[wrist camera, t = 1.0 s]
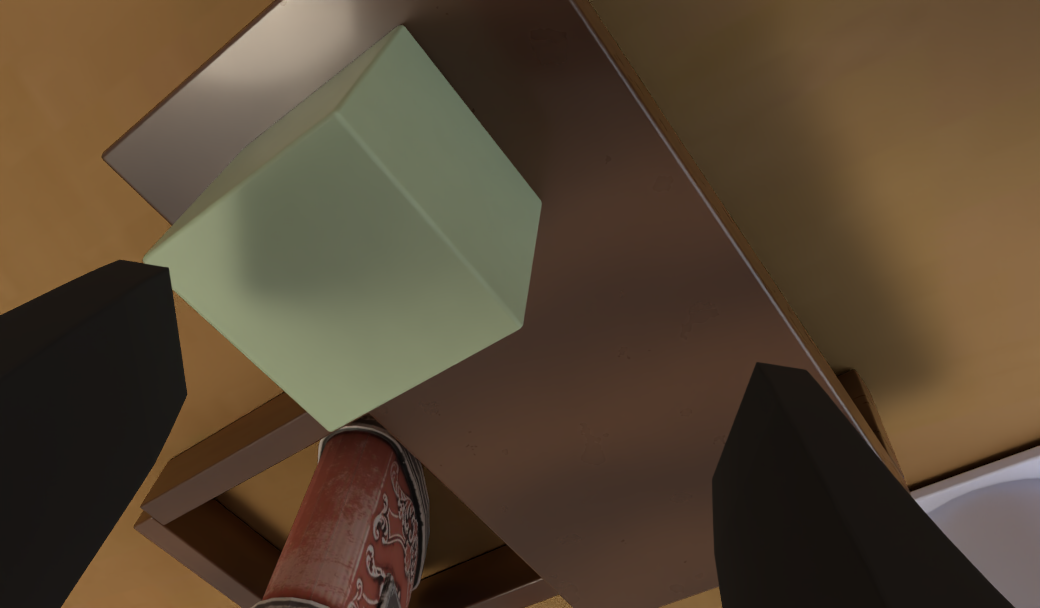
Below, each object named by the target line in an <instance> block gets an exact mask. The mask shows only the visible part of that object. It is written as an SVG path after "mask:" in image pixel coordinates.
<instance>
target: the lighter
mask: <svg viewBox="0 0 1040 608" xmlns="http://www.w3.org/2000/svg"><path fill="white" fill-rule="evenodd" d="M429 534H430V525H429V497H428V493H427V488H426V483H425V478H424V474H423V469H422V465H421V462H420V461H419V460H418V459H417V458H415V457H414V456H413V455H412V454H411V453H410V452H409V451H408V450H407V449H406V448H405V447H404V446H403V445H402V444H401V443H400V442H399V441H398V440H397V439H396V438H394V437H393V436H392V435H391V434H390V433H389V432H388V431H387V430H386V429H385V428H384V427H383V426H382V425H381V424H380V423H379V422H378V421H377V420H376V419H375V418H373V417H372V416H371V415H370V414H369V413H368V414H367V415H365V416H363V417H361V418H359V419H357V420H356V421H354V422H352V423H350V424H348V425H346V426H345V427H343V428H341V429H339V430H337V431H335V432H334V433H332V434H330V435H328V436H326V437H325V438H323V439H321V441H320V443H319V448H318V465H317V467H316V470H315V472H314V475H313V477H312V480H311V482H310V485H309V487H308V489H307V492H306V494H305V497H304V499H303V502H302V504H301V506H300V509H299V511H298V514H297V516H296V519H295V521H294V523H293V526H292V528H291V531H290V533H289V536H288V538H287V540H286V543H285V545H284V548H283V550H282V553H281V555H280V557H279V560H278V562H277V565H276V567H275V570H274V572H273V575H272V577H271V579H270V582H269V584H268V587H267V589H266V592H265V594H264V596H263V599H262V601H260V602H258V603H257V604H255V605H254V606H252V607H251V608H408V605H409V601H410V597H411V592H412V591H413V590H414V589H416V588H417V586H418V585H419V583H420V579H421V575H422V571H423V566H424V562H425V557H426V551H427V545H428V539H429Z"/></svg>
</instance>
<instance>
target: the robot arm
mask: <svg viewBox="0 0 1040 608" xmlns="http://www.w3.org/2000/svg"><path fill="white" fill-rule="evenodd" d="M186 396H187V389H186V382H185V375H184V368H183V361H182V354H181V347H180V340H179V334H178V327H177V320H176V313H175V306H174V299H173V292H172V285H171V278H170V271H169V267H162V266H156V265H150V264H144V263H137V262H131V261H125V260H118V261H115V262H113V263H110V264H108V265H105V266H103V267H101V268H98V269H96V270H94V271H91V272H89V273H87V274H85V275H83V276H81V277H78V278H76V279H74V280H72V281H70V282H68V283H66V284H64V285H62V286H60V287H58V288H56V289H53V290H51V291H49V292H47V293H45V294H43V295H41V296H39V297H37V298H35V299H33V300H31V301H29V302H27V303H25V304H23V305H21V306H19V307H17V308H15V309H12V310H10V311H8V312H6V313H4V314H2V315H0V608H61V606H62V605H63V603H64V602H65V600H66V599H67V597H68V596H69V594H70V593H71V591H72V590H73V588H74V587H75V585H76V584H77V582H78V580H79V579H80V577H81V576H82V574H83V573H84V571H85V570H86V568H87V567H88V565H89V564H90V562H91V561H92V559H93V558H94V556H95V555H96V553H97V552H98V550H99V549H100V547H101V546H102V544H103V543H104V541H105V540H106V538H107V537H108V535H109V534H110V532H111V531H112V529H113V528H114V526H115V525H116V523H117V522H118V520H119V518H120V517H121V515H122V514H123V512H124V511H125V509H126V508H127V506H128V505H129V503H130V502H131V500H132V498H133V497H134V495H135V494H136V492H137V491H138V489H139V488H140V486H141V485H142V483H143V481H144V480H145V478H146V477H147V475H148V474H149V472H150V470H151V469H152V467H153V466H154V464H155V462H156V460H157V458H158V456H159V454H160V452H161V450H162V448H163V446H164V444H165V442H166V440H167V438H168V436H169V434H170V432H171V429H172V427H173V425H174V423H175V421H176V418H177V416H178V414H179V412H180V410H181V407H182V405H183V403H184V401H185V399H186ZM910 494H911V495H910ZM910 494H909V493H908V492H907V491H906V489H905V488H904V487H903V486H902V485H901V483H900V482H899V481H898V480H897V479H896V478H895V476H894V475H893V474H892V473H891V472H890V470H889V469H888V468H887V467H886V466H885V464H884V463H883V462H882V461H881V460H880V458H879V457H878V456H877V455H876V454H875V452H874V451H873V450H872V449H871V447H870V446H869V445H868V444H867V442H866V441H865V440H864V439H863V438H862V436H861V435H860V434H859V433H858V431H857V430H856V429H855V428H854V426H853V425H852V424H851V423H850V421H849V420H848V419H847V418H846V416H845V415H844V414H843V413H842V412H841V410H840V409H839V408H838V407H837V405H836V404H835V403H834V402H833V400H832V399H831V398H830V397H829V395H828V394H827V393H826V392H825V391H824V389H823V388H822V387H821V386H820V385H819V383H818V382H817V381H816V380H815V379H814V378H813V376H812V375H811V374H810V373H809V372H808V371H807V370H805V369H799V368H792V367H786V366H780V365H774V364H767V363H761V362H756V365H755V367H754V370H753V372H752V375H751V378H750V380H749V383H748V386H747V388H746V391H745V393H744V396H743V399H742V401H741V404H740V407H739V409H738V412H737V414H736V417H735V420H734V422H733V425H732V428H731V430H730V433H729V436H728V438H727V441H726V443H725V446H724V449H723V451H722V454H721V457H720V459H719V462H718V464H717V467H716V470H715V472H714V475H713V478H712V508H713V537H714V556H715V563H716V569H717V576H718V582H719V589H720V595H721V601H722V607H723V608H1040V446H1037V447H1034V448H1031V449H1028V450H1026V451H1023V452H1020V453H1017V454H1015V455H1012V456H1009V457H1006V458H1003V459H1001V460H998V461H995V462H992V463H990V464H987V465H984V466H981V467H978V468H976V469H973V470H970V471H967V472H965V473H962V474H959V475H956V476H953V477H951V478H948V479H945V480H942V481H940V482H937V483H934V484H931V485H928V486H926V487H923V488H920V489H917V490H915V491H912V492H910Z"/></svg>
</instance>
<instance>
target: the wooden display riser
mask: <svg viewBox="0 0 1040 608" xmlns="http://www.w3.org/2000/svg"><path fill="white" fill-rule="evenodd" d="M399 25H403V26H405V27H406V29H407V30H408V31H409V33H410V34H411V35H412V36H413V38H414V39H415V40H416V41H417V43H418V44H419V45H420V47H421V48H422V49H423V50H424V52H425V53H426V54H427V56H428V57H429V58H430V59H431V61H432V62H433V63H434V65H435V66H436V67H437V68H438V70H439V71H440V72H441V73H442V75H443V76H444V77H445V79H446V80H447V81H448V82H449V84H450V85H451V86H452V88H453V89H454V90H455V91H456V93H457V94H458V95H459V96H460V98H461V99H462V100H463V102H464V103H465V104H466V105H467V107H468V108H469V109H470V111H471V112H472V113H473V114H474V116H475V117H476V118H477V119H478V121H479V122H480V123H481V125H482V126H483V127H484V128H485V130H486V131H487V132H488V134H489V135H490V136H491V137H492V139H493V140H494V141H495V143H496V144H497V145H498V146H499V148H500V149H501V150H502V151H503V153H504V154H505V155H506V157H507V158H508V159H509V160H510V162H511V163H512V164H513V166H514V167H515V168H516V169H517V171H518V172H519V173H520V174H521V176H522V177H523V178H524V180H525V181H526V182H527V183H528V185H529V186H530V187H531V189H532V190H533V191H534V192H535V194H536V195H537V196H538V197H539V199H540V200H541V203H542V205H541V212H540V218H539V225H538V231H537V238H536V244H535V251H534V257H533V264H532V270H531V277H530V283H529V290H528V296H527V302H526V309H525V315H524V322H523V326H522V327H521V328H520V329H519V330H517V331H515V332H513V333H512V334H510V335H508V336H506V337H504V338H502V339H501V340H499V341H497V342H495V343H493V344H492V345H490V346H488V347H486V348H484V349H482V350H481V351H479V352H477V353H475V354H473V355H471V356H470V357H468V358H466V359H464V360H462V361H460V362H459V363H457V364H455V365H453V366H451V367H450V368H448V369H446V370H444V371H442V372H440V373H439V374H437V375H435V376H433V377H431V378H429V379H428V380H426V381H424V382H422V383H420V384H418V385H417V386H415V387H413V388H411V389H409V390H408V391H406V392H404V393H402V394H400V395H398V396H397V397H395V398H393V399H391V400H389V401H387V402H386V403H384V404H382V405H380V406H378V407H377V408H375V409H373V410H371V411H369V412H367V413H366V414H364V415H362V416H360V417H358V418H356V419H355V420H353V421H351V422H349V423H347V424H345V425H344V426H342V427H340V428H338V429H336V430H335V431H337V430H339V429H341V428H343V427H345V426H346V425H348V424H350V423H352V422H354V421H356V420H357V419H359V418H361V417H363V416H365V415H367V414H368V413H369V414H370V415H371V416H372V417H373V418H375V419H376V420H377V421H378V422H379V423H380V424H381V425H382V426H383V427H384V428H385V429H386V430H387V431H388V432H389V433H390V434H391V435H392V436H393V437H394V438H396V439H397V440H398V441H399V442H400V443H401V444H402V445H403V446H404V447H405V448H406V449H407V450H408V451H409V452H410V453H411V454H412V455H413V456H414V457H415V458H417V459H418V460H419V461H420V462H421V463H422V464H423V465H424V466H425V467H426V468H427V469H428V470H429V471H430V472H431V473H432V474H433V475H434V476H435V477H436V478H438V479H439V480H440V481H441V482H442V483H443V484H444V485H445V486H446V487H447V488H448V489H449V490H450V491H451V492H452V493H453V494H454V495H455V496H456V497H457V498H459V499H460V500H461V501H462V502H463V503H464V504H465V505H466V506H467V507H468V508H469V509H470V510H471V511H472V512H473V513H474V514H475V515H476V516H477V517H478V518H480V519H481V520H482V521H483V522H484V523H485V524H486V525H487V526H488V527H489V528H490V529H491V530H492V531H493V532H494V533H495V534H496V535H497V536H498V537H499V538H501V539H502V540H503V541H504V542H505V543H506V544H507V545H506V546H503V547H501V548H498V549H496V550H494V551H491V552H489V553H486V554H484V555H482V556H479V557H477V558H474V559H472V560H470V561H467V562H465V563H462V564H460V565H458V566H455V567H453V568H451V569H448V570H446V571H443V572H441V573H439V574H436V575H434V576H431V577H429V578H427V579H424V580H422V581H420V583H419V585H418V586H417V588H416V589H414V590H413V591H412V592H411V597H410V601H409V605H408V608H525V607H527V606H530V605H533V604H535V603H538V602H541V601H543V600H546V599H549V598H552V597H554V596H557V595H560V596H561V597H562V598H563V599H565V600H566V601H567V602H568V603H569V604H570V605H571V606H572V607H573V608H659V607H662V606H665V605H668V604H670V603H673V602H676V601H679V600H682V599H685V598H688V597H691V596H694V595H696V594H699V593H702V592H705V591H708V590H711V589H714V588H717V587H719V582H718V576H717V569H716V563H715V556H714V537H713V508H712V478H713V475H714V472H715V470H716V467H717V464H718V462H719V459H720V457H721V454H722V451H723V449H724V446H725V443H726V441H727V438H728V436H729V433H730V430H731V428H732V425H733V422H734V420H735V417H736V414H737V412H738V409H739V407H740V404H741V401H742V399H743V396H744V393H745V391H746V388H747V386H748V383H749V380H750V378H751V375H752V372H753V370H754V367H755V365H756V362H761V363H767V364H774V365H780V366H786V367H792V368H799V369H805V370H807V371H808V372H809V373H810V374H811V375H812V376H813V378H814V379H815V380H816V381H817V382H818V383H819V385H820V386H821V387H822V388H823V389H824V391H825V392H826V393H827V394H828V395H829V397H830V398H831V399H832V400H833V402H834V403H835V404H836V405H837V407H838V408H839V409H840V410H841V412H842V413H843V414H844V415H845V416H846V418H847V419H848V420H849V421H850V423H851V424H852V425H853V426H854V428H855V429H856V430H857V431H858V433H859V434H860V435H861V436H862V438H863V439H864V440H865V441H866V442H867V444H868V445H869V446H870V447H871V449H872V450H873V451H874V452H875V454H876V455H877V456H878V457H879V458H880V460H881V461H882V462H883V463H884V464H885V466H886V467H887V468H888V469H889V470H890V472H891V473H892V474H893V475H894V476H895V478H896V479H897V480H898V481H899V482H900V483H901V485H902V486H903V487H904V488H905V489H906V491H907V492H908V493H909V494H910V491H909V489H908V486H907V484H906V481H905V480H904V476H903V473H902V471H901V468H900V466H899V463H898V461H897V458H896V456H895V453H894V451H893V448H892V446H891V443H890V441H889V438H888V436H887V433H886V431H885V429H884V426H883V424H882V421H881V419H880V416H879V414H878V411H877V409H876V406H875V404H874V401H873V399H872V396H871V394H870V392H869V390H868V388H867V387H866V385H865V384H864V382H863V381H862V379H861V378H860V376H859V374H858V373H857V371H856V370H851V371H849V372H846V373H844V374H842V375H840V376H837V377H836V375H835V374H834V372H833V371H832V369H831V368H830V366H829V365H828V363H827V361H826V360H825V358H824V357H823V355H822V354H821V352H820V351H819V349H818V348H817V346H816V345H815V343H814V342H813V340H812V339H811V337H810V336H809V334H808V333H807V331H806V330H805V328H804V327H803V325H802V324H801V322H800V321H799V319H798V318H797V316H796V315H795V313H794V312H793V310H792V309H791V307H790V305H789V304H788V302H787V301H786V299H785V298H784V296H783V295H782V293H781V292H780V290H779V289H778V287H777V286H776V284H775V283H774V281H773V280H772V278H771V277H770V275H769V274H768V272H767V271H766V269H765V268H764V266H763V265H762V263H761V262H760V260H759V259H758V257H757V256H756V254H755V253H754V251H753V249H752V248H751V246H750V245H749V243H748V242H747V240H746V239H745V237H744V236H743V234H742V233H741V231H740V230H739V228H738V227H737V225H736V224H735V222H734V221H733V219H732V218H731V216H730V215H729V213H728V212H727V210H726V209H725V207H724V206H723V204H722V203H721V201H720V200H719V198H718V197H717V195H716V193H715V192H714V190H713V189H712V187H711V186H710V184H709V183H708V181H707V180H706V178H705V177H704V175H703V174H702V172H701V171H700V169H699V168H698V166H697V165H696V163H695V162H694V160H693V159H692V157H691V156H690V154H689V153H688V151H687V150H686V148H685V147H684V145H683V144H682V142H681V141H680V139H679V137H678V136H677V134H676V133H675V131H674V130H673V128H672V127H671V125H670V124H669V122H668V121H667V119H666V118H665V116H664V115H663V113H662V112H661V110H660V109H659V107H658V106H657V104H656V103H655V101H654V100H653V98H652V97H651V95H650V94H649V92H648V91H647V89H646V88H645V86H644V84H643V83H642V81H641V80H640V78H639V77H638V75H637V74H636V72H635V71H634V69H633V68H632V66H631V65H630V63H629V62H628V60H627V59H626V57H625V56H624V54H623V53H622V51H621V50H620V48H619V47H618V45H617V44H616V42H615V41H614V39H613V38H612V36H611V35H610V33H609V32H608V30H607V28H606V27H605V25H604V24H603V22H602V21H601V19H600V18H599V16H598V15H597V13H596V12H595V10H594V9H593V7H592V6H591V4H590V3H589V1H588V0H275V1H273V2H272V3H271V4H270V5H269V6H268V7H267V8H266V9H264V10H263V11H262V12H261V13H260V14H259V15H258V16H257V17H255V18H254V19H253V20H252V21H251V22H250V23H249V24H248V25H246V26H245V27H244V28H243V29H242V30H241V31H240V32H238V33H237V34H236V35H235V36H234V37H233V38H232V39H231V40H229V41H228V42H227V43H226V44H225V45H224V46H223V47H222V48H220V49H219V50H218V51H217V52H216V53H215V54H214V55H213V56H211V57H210V58H209V59H208V60H207V61H206V62H205V63H203V64H202V65H201V66H200V67H199V68H198V69H197V70H196V71H194V72H193V73H192V74H191V75H190V76H189V77H188V78H187V79H185V80H184V81H183V82H182V83H181V84H180V85H179V86H178V87H176V88H175V89H174V90H173V91H172V92H171V93H170V94H168V95H167V96H166V97H165V98H164V99H163V100H162V101H161V102H159V103H158V104H157V105H156V106H155V107H154V108H153V109H152V110H150V111H149V112H148V113H147V114H146V115H145V116H144V117H143V118H141V119H140V120H139V121H138V122H137V123H136V124H135V125H133V126H132V127H131V128H130V129H129V130H128V131H127V132H126V133H124V134H123V135H122V136H121V137H120V138H119V139H118V140H117V141H115V142H114V143H113V144H112V145H111V146H110V147H109V148H108V149H106V150H105V151H104V152H103V154H102V159H103V160H104V161H105V162H106V163H107V164H108V165H109V166H110V167H111V168H112V169H113V170H114V171H115V172H116V173H117V174H118V175H119V176H120V177H122V178H123V179H124V180H125V181H126V182H127V183H128V184H129V185H130V186H131V187H132V188H133V189H134V190H135V191H136V192H137V193H138V194H139V195H140V196H141V197H143V198H144V199H145V200H146V201H147V202H148V203H149V204H150V205H151V206H152V207H153V208H154V209H155V210H156V211H157V212H158V213H159V214H160V215H161V216H162V217H164V218H165V219H166V220H167V221H168V222H169V223H170V224H171V225H173V224H174V223H175V222H176V221H177V220H178V219H179V218H180V217H181V216H182V214H183V213H184V212H185V211H186V210H187V209H188V208H189V207H190V206H191V205H192V204H193V203H194V202H195V200H196V199H197V198H198V197H199V196H200V195H201V194H202V193H203V192H204V191H205V190H206V189H207V188H208V186H209V185H210V184H211V183H212V182H213V181H214V180H215V179H216V178H217V177H218V176H219V175H220V174H221V172H222V171H223V170H224V169H225V168H226V167H227V166H228V165H229V164H230V163H231V162H232V161H233V160H234V158H235V157H236V156H237V155H238V154H239V153H240V152H241V151H242V150H243V149H244V148H245V147H246V146H247V145H249V144H250V143H251V142H253V141H254V140H255V139H256V138H258V137H259V136H260V135H261V134H263V133H264V132H265V131H266V130H268V129H269V128H270V127H271V126H273V125H274V124H275V123H276V122H278V121H279V120H280V119H281V118H283V117H284V116H285V115H286V114H288V113H289V112H290V111H291V110H293V109H294V108H295V107H297V106H298V105H299V104H300V103H302V102H303V101H304V100H305V99H307V98H308V97H309V96H310V95H312V94H313V93H314V92H315V91H317V90H318V89H319V88H320V87H322V86H323V85H324V84H325V83H327V82H328V81H329V80H330V79H332V78H333V77H334V76H335V75H337V74H338V73H339V72H341V71H342V70H343V69H344V68H346V67H347V66H348V65H349V64H351V63H352V62H353V61H354V60H356V59H357V58H358V57H359V56H361V55H362V54H363V53H364V52H366V51H367V50H368V49H369V48H371V47H372V46H373V45H374V44H376V43H377V42H378V41H379V40H381V39H382V38H383V37H384V36H386V35H387V34H388V33H390V32H391V31H392V30H393V29H395V28H396V27H397V26H399ZM335 431H333V432H330V431H327V430H326V429H325V428H324V427H323V426H322V425H321V424H320V423H319V422H318V421H316V420H315V419H314V418H313V417H312V416H311V415H310V414H309V413H308V412H307V411H306V410H304V409H303V408H302V407H301V406H300V405H299V404H298V403H297V402H296V401H295V400H293V399H292V398H291V397H290V396H289V395H288V394H287V393H286V392H284V393H283V394H281V395H279V396H278V397H276V398H274V399H273V400H271V401H269V402H268V403H266V404H264V405H263V406H261V407H259V408H258V409H256V410H254V411H253V412H251V413H249V414H248V415H246V416H244V417H242V418H241V419H239V420H237V421H236V422H234V423H232V424H231V425H229V426H227V427H226V428H224V429H222V430H221V431H219V432H217V433H216V434H214V435H212V436H211V437H209V438H207V439H206V440H204V441H202V442H200V443H199V444H197V445H195V446H194V447H192V448H190V449H189V450H187V451H185V452H184V453H182V454H180V455H179V456H177V457H175V458H174V459H172V460H170V461H169V462H168V463H167V464H166V466H165V468H164V469H163V471H162V472H161V474H160V476H159V477H158V479H157V480H156V482H155V484H154V485H153V487H152V488H151V490H150V492H149V493H148V495H147V496H146V498H145V500H144V501H143V503H142V504H141V506H140V508H141V509H143V512H142V514H141V515H140V517H139V519H138V520H137V522H136V523H135V525H134V529H136V530H137V531H138V532H140V533H141V534H142V535H144V536H145V537H146V538H148V539H149V540H151V541H152V542H153V543H155V544H156V545H157V546H159V547H160V548H161V549H163V550H164V551H166V552H167V553H168V554H170V555H171V556H172V557H174V558H175V559H176V560H178V561H179V562H180V563H182V564H183V565H185V566H186V567H187V568H189V569H190V570H191V571H193V572H194V573H195V574H197V575H198V576H199V577H201V578H202V579H204V580H205V581H206V582H208V583H209V584H210V585H212V586H213V587H214V588H216V589H217V590H219V591H220V592H221V593H223V594H224V595H225V596H227V597H228V598H229V599H231V600H232V601H233V602H235V603H236V604H238V605H239V606H240V607H242V608H251V607H252V606H254V605H255V604H257V603H258V602H260V601H262V599H263V596H264V594H265V592H266V589H267V587H268V584H269V582H270V579H271V577H272V575H273V572H274V570H275V567H276V565H277V562H278V560H279V557H280V555H281V552H280V551H279V550H277V549H276V548H275V547H274V546H272V545H271V544H270V543H269V542H267V541H266V540H265V539H264V538H262V537H261V536H260V535H259V534H257V533H256V532H255V531H254V530H252V529H251V528H250V527H249V526H247V525H246V524H245V523H244V522H242V521H241V520H240V519H238V518H237V517H236V516H235V515H233V514H232V513H231V512H230V511H228V510H227V509H226V508H225V507H223V506H222V505H221V504H220V503H218V502H217V501H216V500H215V499H213V498H215V497H217V496H218V495H220V494H222V493H224V492H226V491H228V490H229V489H231V488H233V487H235V486H237V485H239V484H240V483H242V482H244V481H246V480H248V479H250V478H251V477H253V476H255V475H257V474H259V473H261V472H262V471H264V470H266V469H268V468H270V467H271V466H273V465H275V464H277V463H279V462H281V461H282V460H284V459H286V458H288V457H290V456H292V455H293V454H295V453H297V452H299V451H301V450H303V449H304V448H306V447H308V446H310V445H312V444H314V443H315V442H317V441H319V440H321V439H323V438H325V437H326V436H328V435H330V434H332V433H334V432H335ZM910 495H911V494H910Z"/></svg>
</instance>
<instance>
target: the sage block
mask: <svg viewBox="0 0 1040 608" xmlns="http://www.w3.org/2000/svg"><path fill="white" fill-rule="evenodd" d="M541 205H542V203H541V200H540V199H539V197H538V196H537V195H536V194H535V192H534V191H533V190H532V189H531V187H530V186H529V185H528V183H527V182H526V181H525V180H524V178H523V177H522V176H521V174H520V173H519V172H518V171H517V169H516V168H515V167H514V166H513V164H512V163H511V162H510V160H509V159H508V158H507V157H506V155H505V154H504V153H503V151H502V150H501V149H500V148H499V146H498V145H497V144H496V143H495V141H494V140H493V139H492V137H491V136H490V135H489V134H488V132H487V131H486V130H485V128H484V127H483V126H482V125H481V123H480V122H479V121H478V119H477V118H476V117H475V116H474V114H473V113H472V112H471V111H470V109H469V108H468V107H467V105H466V104H465V103H464V102H463V100H462V99H461V98H460V96H459V95H458V94H457V93H456V91H455V90H454V89H453V88H452V86H451V85H450V84H449V82H448V81H447V80H446V79H445V77H444V76H443V75H442V73H441V72H440V71H439V70H438V68H437V67H436V66H435V65H434V63H433V62H432V61H431V59H430V58H429V57H428V56H427V54H426V53H425V52H424V50H423V49H422V48H421V47H420V45H419V44H418V43H417V41H416V40H415V39H414V38H413V36H412V35H411V34H410V33H409V31H408V30H407V29H406V27H405V26H403V25H399V26H397V27H396V28H395V29H393V30H392V31H391V32H390V33H388V34H387V35H386V36H384V37H383V38H382V39H381V40H379V41H378V42H377V43H376V44H374V45H373V46H372V47H371V48H369V49H368V50H367V51H366V52H364V53H363V54H362V55H361V56H359V57H358V58H357V59H356V60H354V61H353V62H352V63H351V64H349V65H348V66H347V67H346V68H344V69H343V70H342V71H341V72H339V73H338V74H337V75H335V76H334V77H333V78H332V79H330V80H329V81H328V82H327V83H325V84H324V85H323V86H322V87H320V88H319V89H318V90H317V91H315V92H314V93H313V94H312V95H310V96H309V97H308V98H307V99H305V100H304V101H303V102H302V103H300V104H299V105H298V106H297V107H295V108H294V109H293V110H291V111H290V112H289V113H288V114H286V115H285V116H284V117H283V118H281V119H280V120H279V121H278V122H276V123H275V124H274V125H273V126H271V127H270V128H269V129H268V130H266V131H265V132H264V133H263V134H261V135H260V136H259V137H258V138H256V139H255V140H254V141H253V142H251V143H250V144H249V145H247V146H246V147H245V148H244V149H243V150H242V151H241V152H240V153H239V154H238V155H237V156H236V157H235V158H234V160H233V161H232V162H231V163H230V164H229V165H228V166H227V167H226V168H225V169H224V170H223V171H222V172H221V174H220V175H219V176H218V177H217V178H216V179H215V180H214V181H213V182H212V183H211V184H210V185H209V186H208V188H207V189H206V190H205V191H204V192H203V193H202V194H201V195H200V196H199V197H198V198H197V199H196V200H195V202H194V203H193V204H192V205H191V206H190V207H189V208H188V209H187V210H186V211H185V212H184V213H183V214H182V216H181V217H180V218H179V219H178V220H177V221H176V222H175V223H174V224H173V225H172V226H171V227H170V228H169V230H168V231H167V232H166V233H165V234H164V235H163V236H162V237H161V238H160V239H159V240H158V241H157V242H156V244H155V245H154V246H153V247H152V248H151V249H150V250H149V251H148V252H147V253H146V254H145V255H144V258H143V262H144V264H150V265H156V266H162V267H169V271H170V278H171V285H172V289H173V290H174V291H175V292H176V293H177V294H178V295H179V296H180V297H181V298H183V299H184V300H185V301H186V302H187V303H188V304H189V305H190V306H191V307H192V308H194V309H195V310H196V311H197V312H198V313H199V314H200V315H201V316H202V317H203V318H205V319H206V320H207V321H208V322H209V323H210V324H211V325H212V326H213V327H214V328H216V329H217V330H218V331H219V332H220V333H221V334H222V335H223V336H224V337H225V338H226V339H228V340H229V341H230V342H231V343H232V344H233V345H234V346H235V347H236V348H237V349H239V350H240V351H241V352H242V353H243V354H244V355H245V356H246V357H247V358H248V359H250V360H251V361H252V362H253V363H254V364H255V365H256V366H257V367H258V368H259V369H261V370H262V371H263V372H264V373H265V374H266V375H267V376H268V377H269V378H270V379H271V380H273V381H274V382H275V383H276V384H277V385H278V386H279V387H280V388H281V389H282V390H284V391H285V392H286V393H287V394H288V395H289V396H290V397H291V398H292V399H293V400H295V401H296V402H297V403H298V404H299V405H300V406H301V407H302V408H303V409H304V410H306V411H307V412H308V413H309V414H310V415H311V416H312V417H313V418H314V419H315V420H316V421H318V422H319V423H320V424H321V425H322V426H323V427H324V428H325V429H326V430H327V431H330V432H333V431H335V430H336V429H338V428H340V427H342V426H344V425H345V424H347V423H349V422H351V421H353V420H355V419H356V418H358V417H360V416H362V415H364V414H366V413H367V412H369V411H371V410H373V409H375V408H377V407H378V406H380V405H382V404H384V403H386V402H387V401H389V400H391V399H393V398H395V397H397V396H398V395H400V394H402V393H404V392H406V391H408V390H409V389H411V388H413V387H415V386H417V385H418V384H420V383H422V382H424V381H426V380H428V379H429V378H431V377H433V376H435V375H437V374H439V373H440V372H442V371H444V370H446V369H448V368H450V367H451V366H453V365H455V364H457V363H459V362H460V361H462V360H464V359H466V358H468V357H470V356H471V355H473V354H475V353H477V352H479V351H481V350H482V349H484V348H486V347H488V346H490V345H492V344H493V343H495V342H497V341H499V340H501V339H502V338H504V337H506V336H508V335H510V334H512V333H513V332H515V331H517V330H519V329H520V328H521V327H522V326H523V322H524V315H525V309H526V302H527V296H528V290H529V283H530V277H531V270H532V264H533V257H534V251H535V244H536V238H537V231H538V225H539V218H540V212H541Z"/></svg>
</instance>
